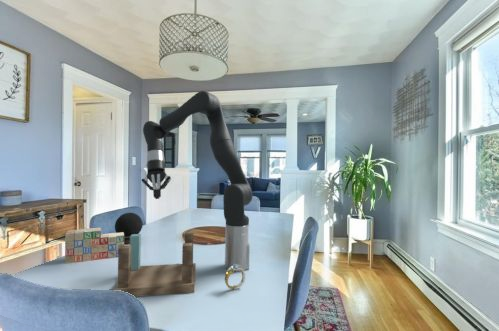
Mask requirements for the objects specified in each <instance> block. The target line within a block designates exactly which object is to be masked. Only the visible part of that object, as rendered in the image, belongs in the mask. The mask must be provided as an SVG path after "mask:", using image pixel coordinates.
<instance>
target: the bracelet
mask: <svg viewBox="0 0 499 331" xmlns="http://www.w3.org/2000/svg"><path fill="white" fill-rule="evenodd" d="M238 265H239V264H238ZM238 265H237V264H236V265H234V264H233V266H231V267H230V268H229V269H228V270H227V269H226V270H227V271H226V272H225V275H224V282H225V283H224V284H225V285H226V287H227V288H228V289H229V290H234V291H236V290H238V289H240V288H241V287H242V286H243V284H244V283H245V280H246V272H245V270H243V269H242V268H240V265H239V266H238ZM231 269H233V270H231ZM230 270H231V271H230ZM235 270H240V271H239V272H241V281H240V282H239V283H238V284H237V285H236V284H235V285H233V286H232V285H230V284H229V282H228V281H229V278H230V276H232V274H233V273H235V272H236V271H235Z"/></svg>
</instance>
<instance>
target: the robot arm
mask: <svg viewBox="0 0 499 331" xmlns="http://www.w3.org/2000/svg"><path fill="white" fill-rule="evenodd" d="M197 113H200V114H204V115H205V116H206V118H207V120H208V123H209V126H210V137H209V145H210V148H211V151H212V154H213V157H214V159H215V161H216V162H217V163H218V165H219V166H220V167H221V169H222V170H223V171H224V172H225V174H226V176H227V178H228V180H229V185H228V186H226V187H225V189H224V192H223V217H224V220H225V237H224V239H225V241H224V242H225V243H224V244H225V246H224V248H225V249H224V251H225V252H224V268H225V269H226V270H228V269H229V268H230V267H231V266H233V264H234V265H236V264H237V265H238V264H239V265H240V268H242V269H243V270H244V271H246V270H249V269H250V248H251V247H250V244H249V230H250V229H249V228H250V227H249V226H250V224H249V223H250V218H249V217H248V215H246V214H245V206H248V205H249V204H250V203H251V202H252V201H253V190H252V187H251V185H250V183H249V181H248V179H247V177H246V175H245V173H244V171H243V170H244V169H243V168H242V165H241V162H240V159H239V157H238V154H237V151H236V148H235V145H234V142H233V140H232V137H231V134H230V132H229V130H228V127H227V124H226V120H225V117H224V113H223V109H222V104H221V102H220V100H219V98H218V97H217V96H216V95H214V94H213V93H211V92H209V91H205V90H201V91H198V92H196V93H195V94H194V95H192V96H191V97H190V98H189V99H188V100H186V101H185V102H184V103H183V104H181V105H180V106H179V107H178V108H177V109H175V110H173V111H172V112H170V113H168V114H166V115H164V116H162V117H161V118H160V119H159V122H158V123H157V122H154V121H153V120H148V121H146V122H144V124H143V126H142V127H143V128H142V131H143V132H142V133H143V136H144V139H145V142H146V146H147V147H146V148H147V149H146V150H147V155H146V165H147V170H146V171H147V172H146V173H147V174H146V177H144V178H142V179H141V182H142V183H143V184H144V185H145V186H146V187H147V188H148V189H149V190H150V191H153V192H152V193H153V198H154V199H155V200H159V199H160V198H161V197H162V190H163V189H166V187H167V186H168V185H169V183H170V181H171V180H172V178H171V176H170V175H167V173H166V165H165V164H166V163H165V162H166V160H165V154H164V153H165V152H164V143H163V141H162V139H163V138H165V137H166V136H167V135H168V134H169V133H170V132H171V131H174V130H175V129H177V128H178V127H180V126H181V125H183V124H184V123H185V121H186V120H187V118H189V116H191V115H194V114H197ZM149 182H150V183H151V184H150V183H149ZM151 185H152V186H151ZM239 265H238V266H239ZM231 270H233V269H231ZM231 270H230V271H231ZM234 272H241V271H240V270H235V271H234Z"/></svg>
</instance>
